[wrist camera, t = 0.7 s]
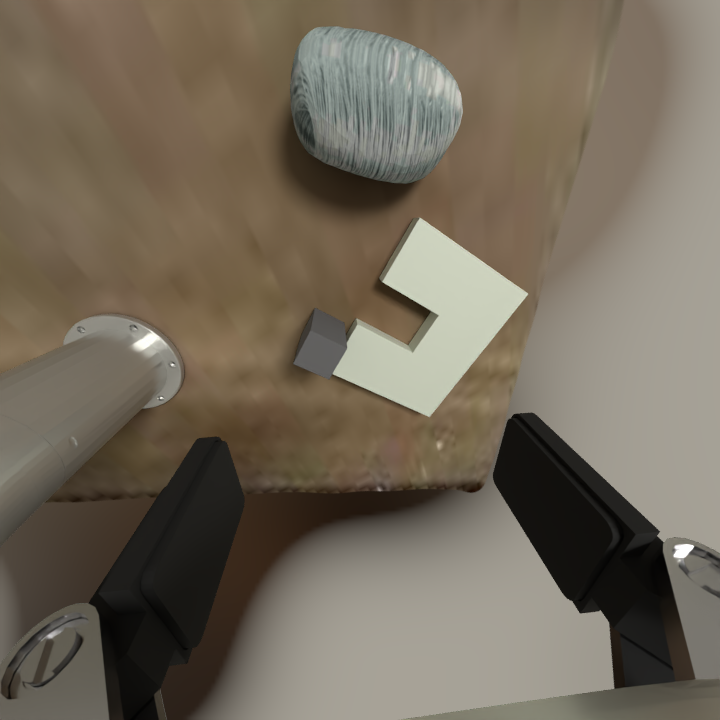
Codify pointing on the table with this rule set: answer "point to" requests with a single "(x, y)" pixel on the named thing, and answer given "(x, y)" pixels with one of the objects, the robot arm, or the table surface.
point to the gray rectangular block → (321, 344)
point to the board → (430, 321)
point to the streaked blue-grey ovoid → (372, 104)
